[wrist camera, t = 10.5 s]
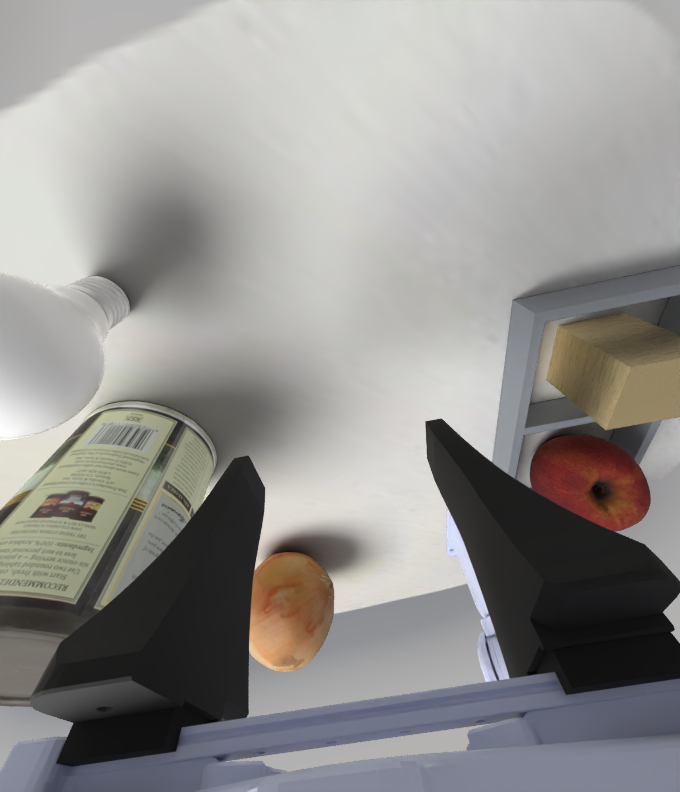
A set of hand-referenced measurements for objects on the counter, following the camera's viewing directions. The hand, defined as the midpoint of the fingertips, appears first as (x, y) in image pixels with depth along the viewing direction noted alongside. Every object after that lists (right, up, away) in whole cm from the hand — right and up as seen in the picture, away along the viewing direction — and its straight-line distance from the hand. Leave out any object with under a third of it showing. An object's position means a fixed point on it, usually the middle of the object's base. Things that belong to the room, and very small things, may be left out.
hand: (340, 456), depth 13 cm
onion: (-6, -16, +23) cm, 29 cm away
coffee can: (-15, -2, +13) cm, 20 cm away
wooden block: (+18, +6, +10) cm, 21 cm away
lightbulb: (-14, +8, +6) cm, 17 cm away
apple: (+20, -2, +16) cm, 26 cm away
